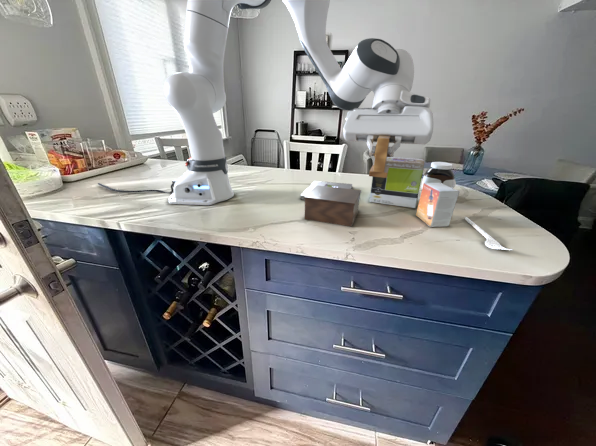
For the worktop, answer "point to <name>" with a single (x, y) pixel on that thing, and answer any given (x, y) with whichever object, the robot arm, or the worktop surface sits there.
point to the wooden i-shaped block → (380, 158)
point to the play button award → (329, 184)
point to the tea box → (399, 182)
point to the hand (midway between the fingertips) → (381, 155)
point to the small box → (436, 204)
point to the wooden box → (332, 205)
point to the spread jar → (440, 174)
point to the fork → (487, 237)
